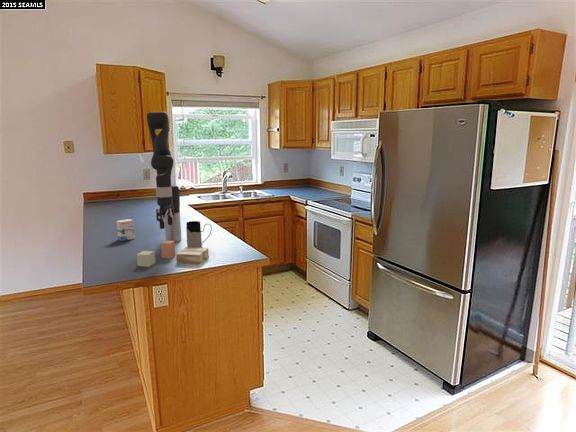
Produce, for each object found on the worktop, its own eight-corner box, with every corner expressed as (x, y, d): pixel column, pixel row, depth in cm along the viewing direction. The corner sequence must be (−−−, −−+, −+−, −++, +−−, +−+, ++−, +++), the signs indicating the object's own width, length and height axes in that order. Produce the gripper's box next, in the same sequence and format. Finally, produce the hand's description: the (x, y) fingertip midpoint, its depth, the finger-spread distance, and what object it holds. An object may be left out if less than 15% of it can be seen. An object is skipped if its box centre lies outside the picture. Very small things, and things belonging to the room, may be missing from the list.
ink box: (120, 241, 225) (119, 222, 223) (117, 239, 229) (115, 220, 226) (135, 238, 231) (133, 220, 229) (131, 237, 235) (130, 218, 232)
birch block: (187, 256, 199) (186, 247, 198) (208, 257, 197) (208, 248, 196) (176, 263, 188) (176, 253, 187) (199, 264, 186) (199, 255, 185)
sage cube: (144, 262, 189) (143, 250, 188) (155, 262, 188) (154, 251, 187) (137, 266, 183) (136, 254, 182) (149, 266, 182) (148, 254, 181)
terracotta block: (166, 255, 200) (165, 240, 199) (175, 255, 199) (174, 240, 198) (161, 257, 195) (160, 243, 194) (171, 258, 195) (170, 243, 193)
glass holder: (185, 247, 214) (184, 221, 211) (211, 244, 219) (209, 219, 216) (187, 251, 206) (186, 224, 203) (213, 249, 211) (212, 222, 208)
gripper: (164, 193, 198) (166, 223, 201) (150, 197, 185) (152, 229, 188) (177, 193, 197) (179, 224, 200) (164, 197, 183) (166, 230, 186)
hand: (166, 226), depth 194 cm, fingers open, 8 cm apart
